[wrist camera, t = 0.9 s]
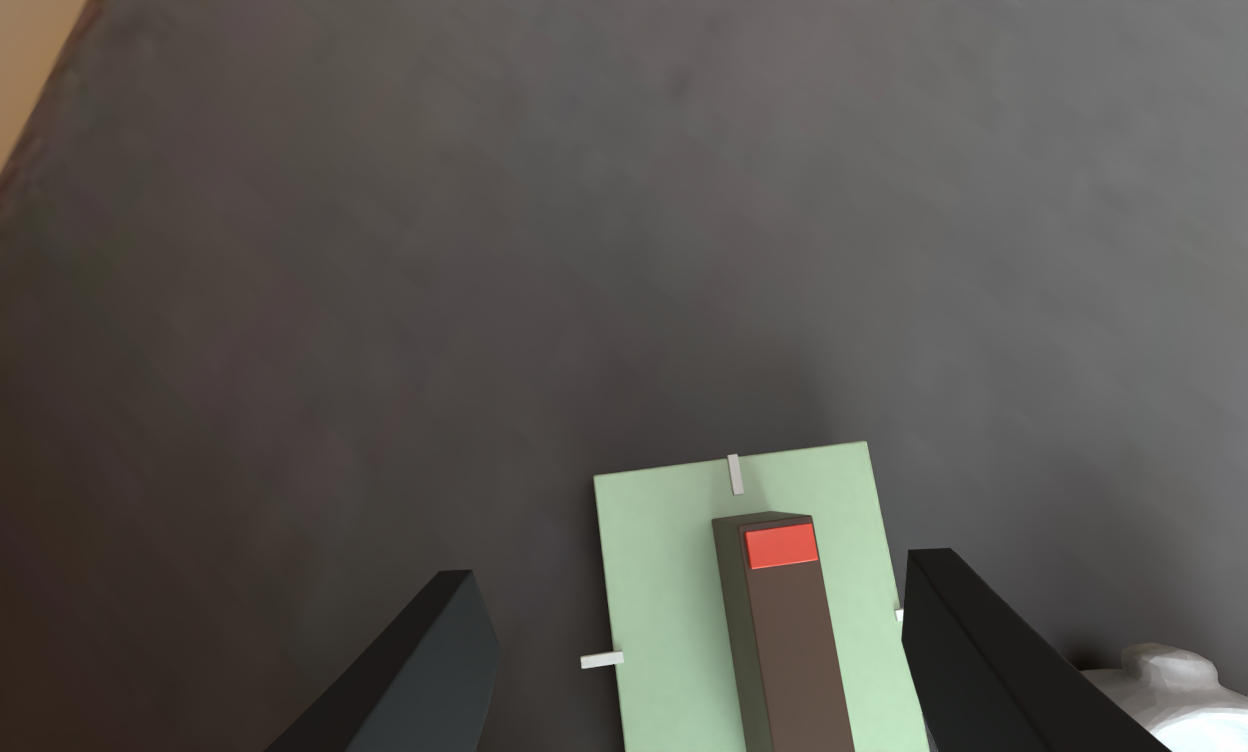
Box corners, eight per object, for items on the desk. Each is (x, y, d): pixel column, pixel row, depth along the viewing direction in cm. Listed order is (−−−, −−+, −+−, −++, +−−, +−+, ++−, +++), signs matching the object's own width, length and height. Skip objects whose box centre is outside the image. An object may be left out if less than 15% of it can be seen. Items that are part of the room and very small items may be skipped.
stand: (925, 763, 22) (978, 807, 19) (602, 817, 21) (603, 873, 18) (860, 440, 24) (897, 433, 21) (566, 478, 24) (561, 476, 21)
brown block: (815, 759, 19) (874, 833, 15) (749, 770, 19) (790, 847, 15) (772, 510, 21) (815, 515, 17) (710, 518, 21) (739, 525, 16)
